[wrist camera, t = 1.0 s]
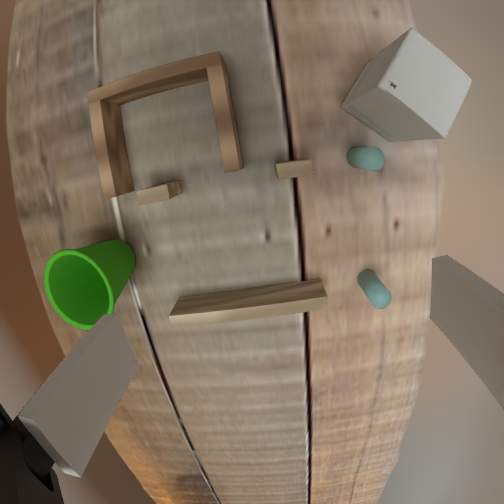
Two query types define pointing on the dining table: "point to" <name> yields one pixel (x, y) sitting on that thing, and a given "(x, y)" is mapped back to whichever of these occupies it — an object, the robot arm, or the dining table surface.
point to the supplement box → (409, 91)
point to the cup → (88, 280)
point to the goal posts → (367, 279)
